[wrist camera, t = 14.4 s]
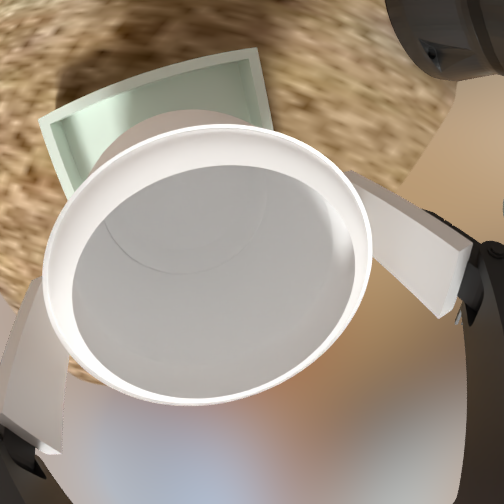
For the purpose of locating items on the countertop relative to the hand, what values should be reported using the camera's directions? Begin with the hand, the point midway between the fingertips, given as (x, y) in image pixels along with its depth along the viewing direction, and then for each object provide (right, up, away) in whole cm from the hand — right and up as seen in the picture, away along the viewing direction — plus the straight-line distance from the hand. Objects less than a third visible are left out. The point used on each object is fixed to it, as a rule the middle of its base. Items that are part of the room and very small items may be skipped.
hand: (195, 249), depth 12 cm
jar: (-3, +6, +9) cm, 11 cm away
